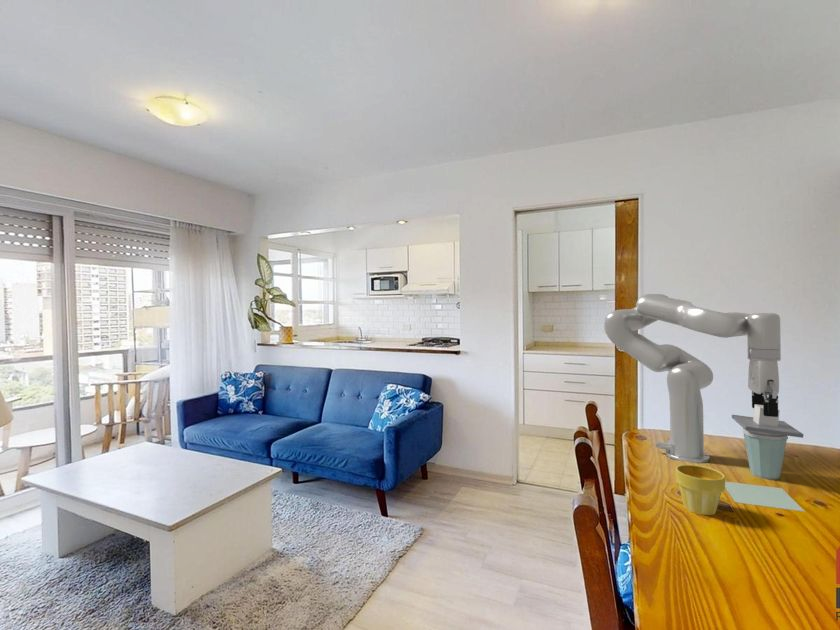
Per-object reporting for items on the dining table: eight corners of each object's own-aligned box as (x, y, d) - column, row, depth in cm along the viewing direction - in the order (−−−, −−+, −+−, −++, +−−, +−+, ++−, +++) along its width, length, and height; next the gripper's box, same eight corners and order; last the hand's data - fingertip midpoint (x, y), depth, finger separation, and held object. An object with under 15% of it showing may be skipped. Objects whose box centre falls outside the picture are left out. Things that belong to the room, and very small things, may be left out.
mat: (735, 503, 107) (735, 502, 107) (720, 482, 120) (720, 480, 120) (805, 513, 101) (804, 511, 101) (781, 489, 114) (781, 488, 114)
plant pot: (717, 503, 107) (716, 466, 107) (732, 523, 97) (732, 482, 97) (671, 498, 110) (670, 462, 110) (682, 516, 101) (681, 477, 101)
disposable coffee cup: (781, 472, 125) (780, 423, 125) (795, 486, 115) (795, 433, 115) (738, 467, 130) (737, 420, 130) (748, 481, 120) (747, 429, 120)
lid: (745, 429, 119) (747, 409, 119) (731, 417, 131) (733, 399, 130) (803, 437, 114) (805, 416, 114) (783, 424, 126) (785, 405, 125)
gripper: (739, 351, 132) (739, 404, 132) (758, 357, 116) (759, 418, 116) (768, 351, 129) (769, 406, 129) (792, 358, 113) (793, 420, 113)
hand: (764, 412), depth 122 cm, fingers open, 9 cm apart
